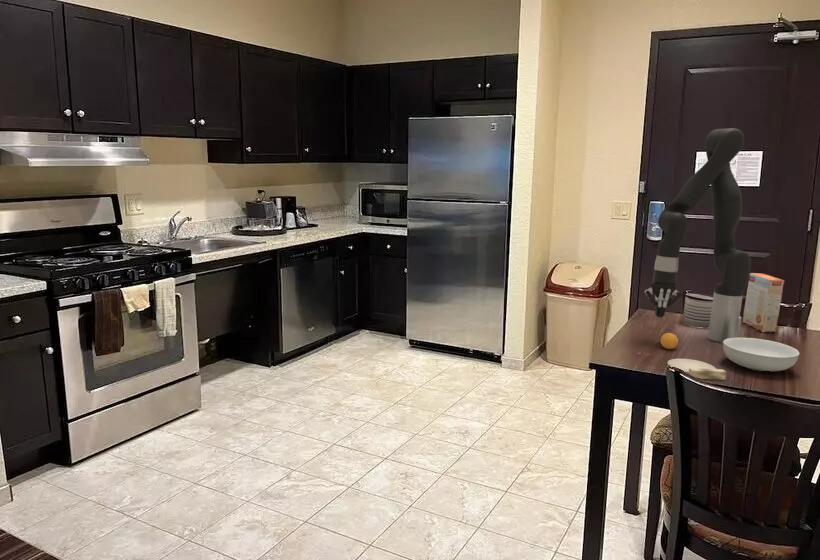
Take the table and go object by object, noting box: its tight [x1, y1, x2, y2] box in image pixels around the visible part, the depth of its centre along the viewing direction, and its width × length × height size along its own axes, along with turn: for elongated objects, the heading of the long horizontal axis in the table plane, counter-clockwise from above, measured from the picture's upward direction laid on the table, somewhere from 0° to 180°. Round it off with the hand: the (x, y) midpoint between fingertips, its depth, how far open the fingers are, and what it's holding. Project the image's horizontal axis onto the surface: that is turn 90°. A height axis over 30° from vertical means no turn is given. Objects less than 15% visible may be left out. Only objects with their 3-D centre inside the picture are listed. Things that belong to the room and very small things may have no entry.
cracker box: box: [741, 272, 785, 332], centre depth 234 cm, size 14×6×21 cm, turn 179°
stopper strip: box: [688, 368, 727, 381], centre depth 178 cm, size 10×2×2 cm, turn 89°
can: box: [682, 293, 713, 329], centre depth 237 cm, size 11×11×12 cm
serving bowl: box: [722, 337, 800, 372], centre depth 189 cm, size 21×21×7 cm
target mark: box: [667, 358, 717, 374], centre depth 188 cm, size 14×14×1 cm
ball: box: [660, 332, 679, 350], centre depth 205 cm, size 6×6×6 cm
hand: (659, 316), depth 213 cm, fingers closed
